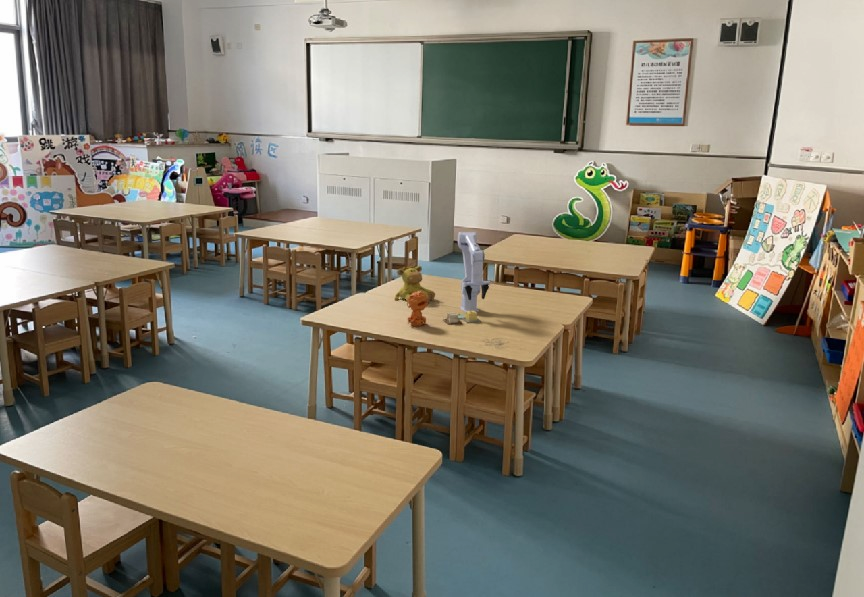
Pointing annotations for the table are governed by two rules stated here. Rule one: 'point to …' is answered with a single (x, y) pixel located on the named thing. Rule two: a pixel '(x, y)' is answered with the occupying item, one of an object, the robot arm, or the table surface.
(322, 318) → the table surface
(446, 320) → the tray walnut
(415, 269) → the green plush bear
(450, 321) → the maple block
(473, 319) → the letter cube
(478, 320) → the tray slate
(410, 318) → the orange toy figurine
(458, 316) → the tray sage
